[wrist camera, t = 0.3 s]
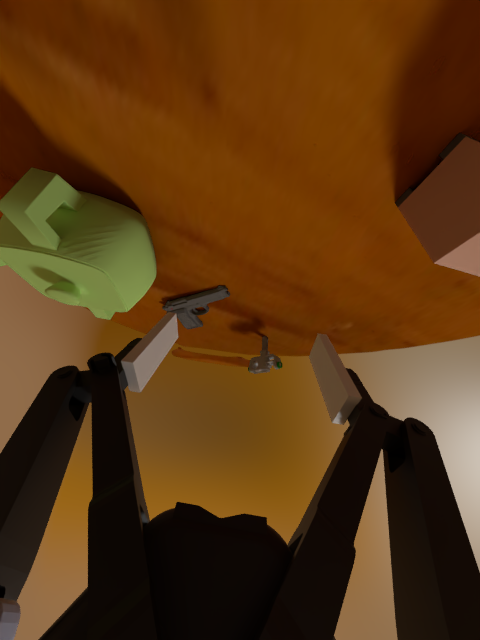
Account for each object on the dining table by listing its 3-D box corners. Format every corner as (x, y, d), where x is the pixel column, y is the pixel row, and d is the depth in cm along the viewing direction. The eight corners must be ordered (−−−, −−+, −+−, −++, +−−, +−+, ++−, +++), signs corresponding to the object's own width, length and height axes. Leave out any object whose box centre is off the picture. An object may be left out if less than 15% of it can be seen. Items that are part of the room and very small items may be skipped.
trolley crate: (437, 217, 22) (487, 278, 17) (395, 202, 21) (433, 263, 16) (511, 154, 17) (615, 215, 12) (459, 132, 16) (547, 187, 11)
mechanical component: (282, 335, 52) (283, 370, 47) (254, 342, 58) (252, 374, 53) (277, 331, 50) (277, 366, 45) (248, 339, 56) (246, 371, 51)
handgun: (188, 331, 51) (154, 308, 42) (189, 324, 53) (157, 300, 43) (247, 319, 44) (223, 288, 35) (248, 311, 45) (224, 279, 36)
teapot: (68, 262, 35) (20, 320, 28) (-49, 111, 18) (-238, 167, 11) (167, 284, 38) (144, 341, 31) (146, 169, 21) (86, 243, 14)
